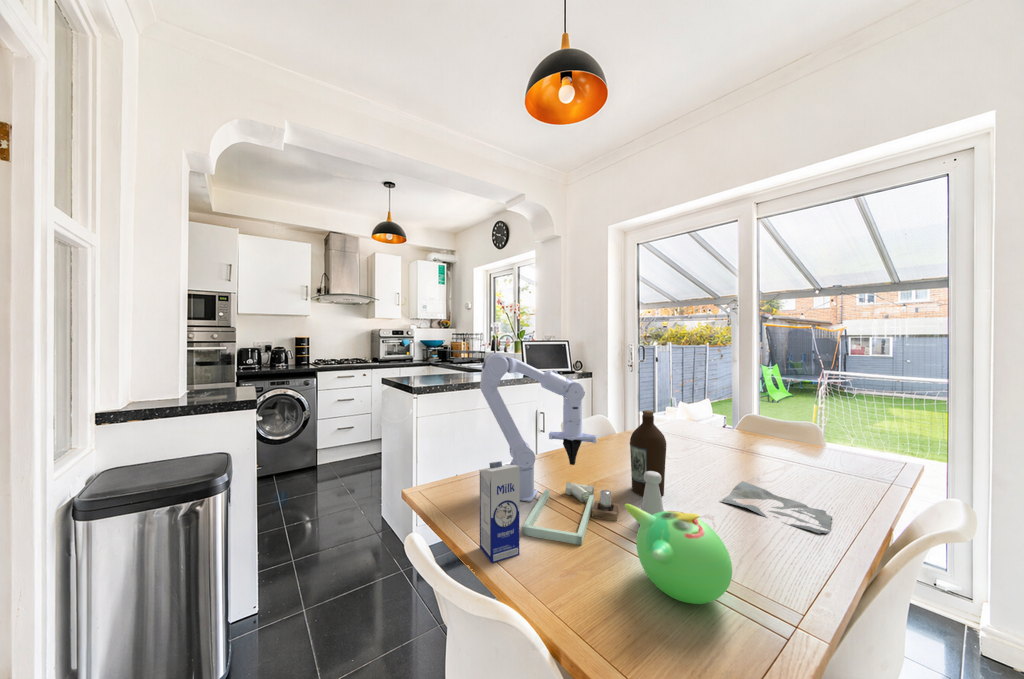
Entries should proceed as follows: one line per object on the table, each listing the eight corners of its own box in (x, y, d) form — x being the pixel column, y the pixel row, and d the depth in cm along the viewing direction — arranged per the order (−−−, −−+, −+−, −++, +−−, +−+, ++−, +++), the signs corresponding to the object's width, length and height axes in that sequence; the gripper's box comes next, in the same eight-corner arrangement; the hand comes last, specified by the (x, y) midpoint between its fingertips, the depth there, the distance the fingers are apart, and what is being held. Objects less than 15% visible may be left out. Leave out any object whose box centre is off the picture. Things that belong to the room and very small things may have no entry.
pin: (599, 515, 103) (599, 493, 103) (600, 510, 105) (601, 489, 105) (610, 516, 102) (610, 494, 102) (611, 512, 104) (611, 490, 104)
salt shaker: (664, 519, 101) (664, 470, 100) (665, 529, 95) (665, 477, 95) (640, 515, 102) (640, 467, 102) (640, 525, 97) (640, 475, 97)
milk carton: (491, 563, 81) (490, 470, 81) (478, 547, 87) (478, 461, 87) (520, 554, 84) (520, 465, 84) (506, 540, 90) (506, 456, 90)
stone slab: (841, 522, 101) (842, 514, 101) (824, 544, 92) (825, 535, 91) (741, 487, 121) (742, 480, 120) (719, 502, 111) (719, 495, 111)
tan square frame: (592, 517, 102) (592, 510, 102) (594, 506, 108) (594, 500, 108) (616, 521, 100) (616, 514, 100) (618, 510, 106) (618, 503, 106)
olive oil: (648, 482, 125) (649, 406, 125) (674, 495, 115) (674, 413, 115) (622, 488, 121) (622, 409, 120) (646, 501, 111) (646, 416, 111)
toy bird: (753, 622, 65) (754, 536, 64) (657, 628, 63) (657, 541, 63) (694, 559, 83) (694, 492, 82) (618, 563, 81) (618, 495, 81)
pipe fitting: (590, 506, 109) (594, 495, 116) (590, 493, 109) (593, 483, 115) (563, 502, 112) (567, 491, 118) (562, 489, 112) (567, 479, 118)
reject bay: (522, 534, 93) (522, 526, 93) (545, 495, 115) (545, 489, 115) (581, 545, 88) (581, 536, 88) (593, 502, 110) (593, 495, 110)
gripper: (546, 421, 116) (546, 465, 116) (594, 424, 112) (594, 470, 112) (551, 416, 123) (551, 458, 123) (597, 419, 118) (597, 463, 118)
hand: (572, 463), depth 118 cm, fingers closed
